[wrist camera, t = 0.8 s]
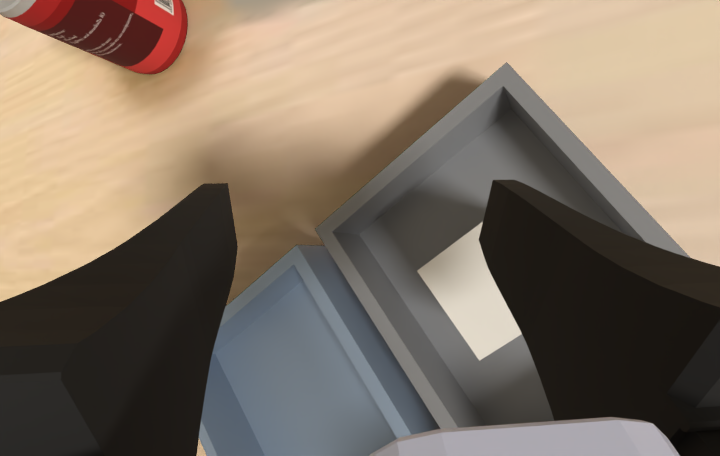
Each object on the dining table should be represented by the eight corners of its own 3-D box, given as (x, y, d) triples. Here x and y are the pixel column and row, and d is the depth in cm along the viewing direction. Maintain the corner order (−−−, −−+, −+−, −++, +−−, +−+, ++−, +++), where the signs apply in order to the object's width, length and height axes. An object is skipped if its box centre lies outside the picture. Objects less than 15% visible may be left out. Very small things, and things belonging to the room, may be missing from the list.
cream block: (573, 288, 22) (576, 300, 16) (499, 335, 23) (479, 360, 18) (516, 218, 23) (501, 207, 18) (449, 266, 24) (416, 270, 19)
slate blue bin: (479, 480, 24) (463, 520, 20) (314, 565, 28) (277, 612, 24) (330, 245, 28) (296, 244, 25) (208, 348, 32) (164, 360, 29)
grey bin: (745, 341, 19) (787, 361, 15) (502, 468, 23) (490, 508, 19) (515, 91, 24) (506, 62, 20) (346, 232, 28) (314, 229, 24)
